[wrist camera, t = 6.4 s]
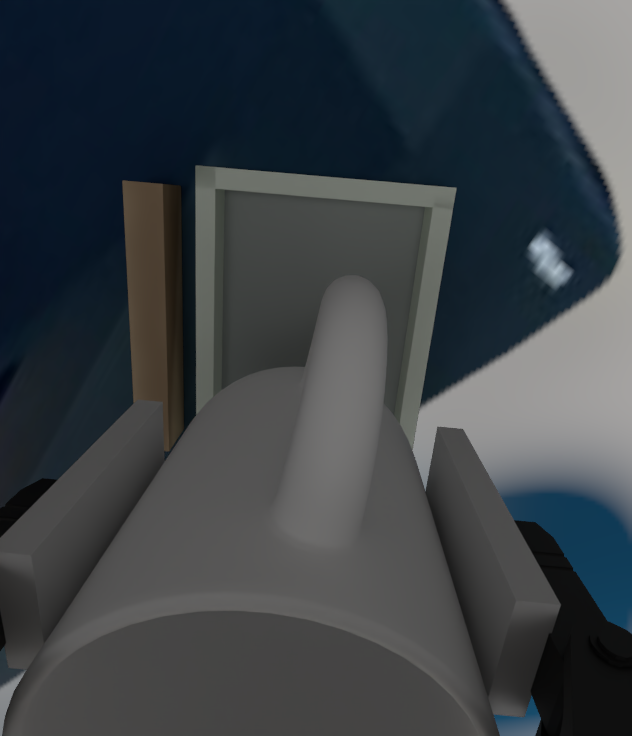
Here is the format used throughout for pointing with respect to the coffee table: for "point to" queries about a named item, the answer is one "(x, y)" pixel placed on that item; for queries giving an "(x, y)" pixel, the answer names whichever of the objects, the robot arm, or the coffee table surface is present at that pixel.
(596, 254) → the coffee table surface
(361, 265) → the frame
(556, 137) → the coffee table surface
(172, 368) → the edge rail
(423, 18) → the coffee table surface
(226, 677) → the mug
